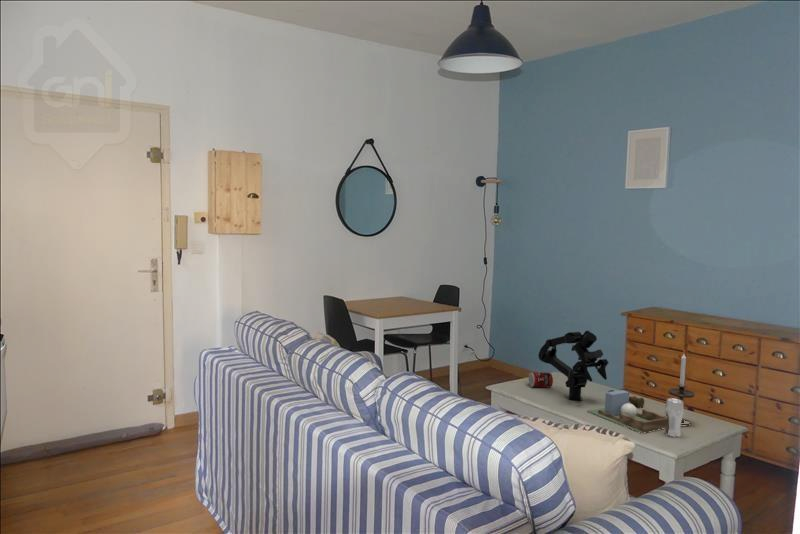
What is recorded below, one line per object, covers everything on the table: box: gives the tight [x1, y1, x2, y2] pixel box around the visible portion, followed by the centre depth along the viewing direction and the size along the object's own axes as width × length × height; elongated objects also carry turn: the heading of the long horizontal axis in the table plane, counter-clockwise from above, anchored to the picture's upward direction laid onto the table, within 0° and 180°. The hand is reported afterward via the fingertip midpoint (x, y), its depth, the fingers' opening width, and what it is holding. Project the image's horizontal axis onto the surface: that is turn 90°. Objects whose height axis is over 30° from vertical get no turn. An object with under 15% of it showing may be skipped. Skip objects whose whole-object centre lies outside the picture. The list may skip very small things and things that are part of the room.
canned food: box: [528, 372, 554, 388], centre depth 321 cm, size 8×8×11 cm
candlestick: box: [667, 347, 696, 425], centre depth 266 cm, size 11×11×35 cm
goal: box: [587, 407, 667, 434], centre depth 270 cm, size 32×19×4 cm, turn 27°
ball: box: [621, 402, 638, 417], centre depth 270 cm, size 7×7×7 cm
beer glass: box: [664, 397, 685, 437], centre depth 251 cm, size 7×7×15 cm
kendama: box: [607, 388, 645, 409], centre depth 296 cm, size 6×10×20 cm
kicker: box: [604, 389, 630, 416], centre depth 276 cm, size 4×11×10 cm, turn 117°
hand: (598, 380), depth 285 cm, fingers open, 9 cm apart
